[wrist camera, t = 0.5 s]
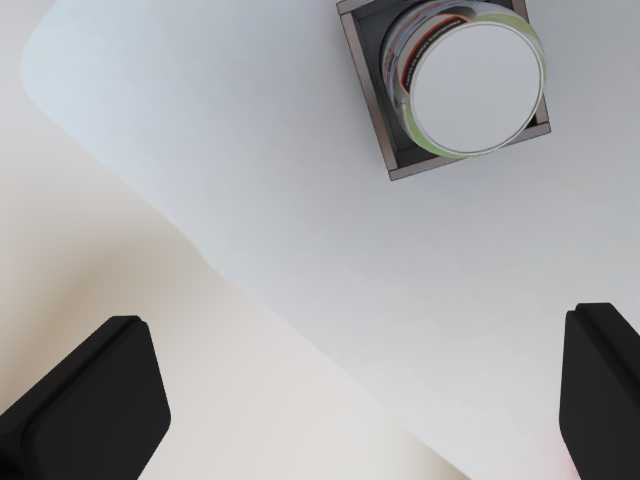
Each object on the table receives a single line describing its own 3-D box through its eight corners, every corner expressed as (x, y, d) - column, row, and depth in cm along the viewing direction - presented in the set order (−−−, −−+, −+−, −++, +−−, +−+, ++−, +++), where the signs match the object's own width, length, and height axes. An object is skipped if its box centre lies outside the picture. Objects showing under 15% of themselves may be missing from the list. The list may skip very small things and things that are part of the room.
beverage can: (436, -24, 27) (468, -84, 16) (520, 75, 28) (604, 82, 17) (355, 61, 29) (333, 59, 18) (436, 149, 30) (462, 199, 19)
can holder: (344, 13, 28) (335, 3, 24) (490, -45, 26) (511, -69, 22) (391, 164, 31) (390, 181, 26) (526, 121, 29) (552, 132, 24)
